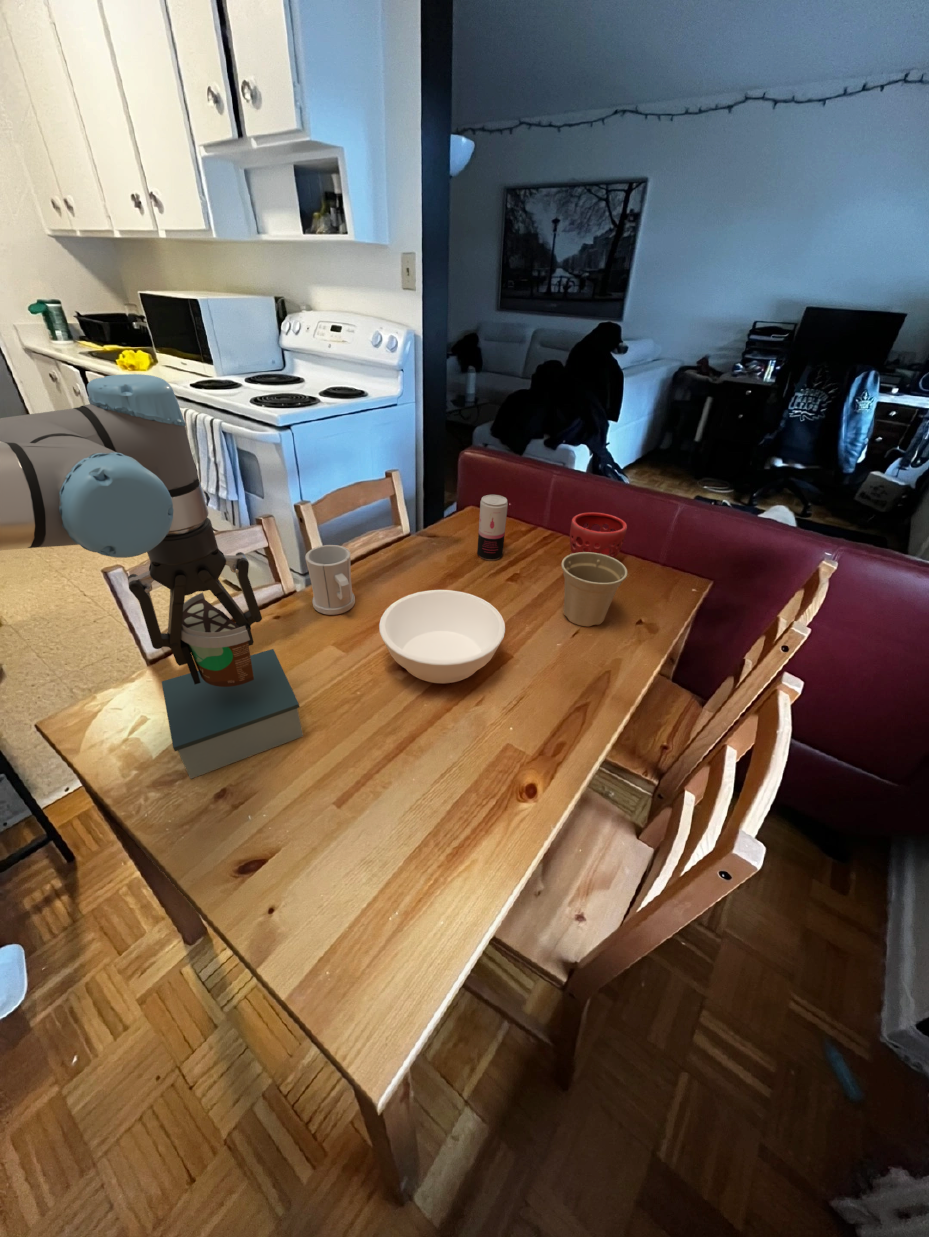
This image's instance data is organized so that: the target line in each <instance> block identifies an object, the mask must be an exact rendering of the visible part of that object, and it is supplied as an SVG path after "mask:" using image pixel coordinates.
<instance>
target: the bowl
mask: <svg viewBox="0 0 929 1237" xmlns="http://www.w3.org/2000/svg"><path fill="white" fill-rule="evenodd" d="M379 620H380V621H379V624H378V628H379V634H380V636H381V640H382V641H383V643H384V646H385V647H386V649H387V650H388V653H389V654H390V656H391V658H392V659H393V660H394V661H395V662H396V664H398V665H399V666H400V667H402V668H404V669H405V670H406V671H407V672H408V673H409V674H411V675H412V676H413V677H414V678H417V679H419V680H422V681H425V682H428V683H433V684H450V683H451V684H453V683H457V682H461V681H463V680H465V679H468V678H470V677H471V676H473V675H474V674H475V673H476V672H477V671H478V670H480V669H481V668H483V667H485V666H486V665H487V663H489V662H490V661H491V659H492V658H493V657H494V655H495V653H496V652H497V650H498V648H499V647H500V645H501V643H502V642H503V639H504V637H505V635H506V634H505V633H506V622H505V621H504V618H503V616H502V614H501V613H500V612H499V610H498V609H497V608H496V607H495V606H494V605H492V603H490V602H488V601H486V600H485V599H483V598H481V597H479V596H477V595H475V594H472V593H468V592H463V591H459V590H452V589H432V590H430V589H429V590H423V591H417V592H414V593H411V594H408V595H405V596H403V597H401V598H399V599H398V600H396V601H394V602H393V603H391V604H390V605H389V606H388V607H387V608H386V609H385V610H384V612H383V614H382V615H381V617H380V619H379Z"/></svg>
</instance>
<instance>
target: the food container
mask: <svg viewBox="0 0 929 1237" xmlns="http://www.w3.org/2000/svg"><path fill="white" fill-rule="evenodd" d="M181 640H183V641H184V642H186V643H187V644H188V647H189V649H190V651H191V654H192V657H193V660H194V663H195V665H196V668H197V671H199V673H200V675H201V678H202V679H203V680H204V681H205V682H206V683H208V684H210V685H214V686H219V687H231V686H237V685H241V684H245V683H247V682H250V681H252V680H254V676H253V669H252V663H251V657H250V655H251V652H250V646H249V645H248V641H249V640H250V638H249V635H248V632H247V630H246V627H245V626H242V627H239V626H237V625H236V624H235V621H233V620H232V619H230V617H229V616H228V615H227V614H226V613H225V612H224V611H222V610H220V609H219V608H217V607H215V606H214V605H212V603H210V602H209V601H208V600H206V598H205V594H204V591H201V592H200V593H198V594H196V595H193V596H191V597H190V598H189V599H187V600H185V601H184V604H183V617H182V629H181Z"/></svg>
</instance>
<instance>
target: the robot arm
mask: <svg viewBox="0 0 929 1237" xmlns="http://www.w3.org/2000/svg"><path fill="white" fill-rule="evenodd" d="M86 390H87V395H88V398H87V400H88V403H89V404H83V405H80V406H79V407H73V408H72V407H71V408H66V409H58V410H51V411H50V410H49V411H43V412H37V413H29V414H28V413H27V414H21V415H13V416H6V417H1V418H0V551H11V550H24V549H35V548H36V549H37V548H53V547H67V546H80V547H82V548H83V549H84V550H86V551H89V552H92V553H97V554H99V555H101V556H106V557H111V558H115V559H119V558H120V559H126V558H127V559H128V558H134V557H137V556H141V555H144V554H147V556H148V559H149V567H148V570H147V571H145V572H143V573H141V574H136V573H131V574H129V575H128V576H127V584H128V590H129V591H130V593H131V594H132V595H133V596H134V597H135V598H136V599H137V600H138V602H139V606H140V610H141V612H142V616H143V619H144V623H145V627H146V629H147V632H148V637H149V639H150V643H151V646H152V648H153V649H154V650H161V649H162V648H168V649H170V650H171V652H172V656H173V658H174V660H175V663H176V664H177V665H178V666H184V665H186V666H187V668H188V670H189V673H191V676H192V678H193V681H194V684H199V683H201V682H200V678H199V675H198V671H199V670H198V668H197V666H196V663H195V661H194V659H193V656H192V654H191V651H190V649H189V647H188V644H187V643H186V642H184V641H183V640H181V629H182V617H183V604H184V603H185V601H186V600H185V598H186V596H191V595H193V594H195V593H198V592H207V591H210V592H211V594H212V595H213V596H214V597H216V599H217V600H218V601H219V602H220V604H221V605H222V607H223V608H224V609H225V610H226V612H227V613H228V614H229V616H230V617H231V618H232V619H233V620H234V623H235V624H236V625H237V626H239V627H242V626H245V627H246V630H247V632H248V635H249V638H250V640H249V641H248V645H249V647H250V646H253V645H254V642H255V640H254V638H253V634H252V631H251V630H252V627H251V626H252V625H253V624H254V623H260V622H261V621H262V620H263V616H262V613H261V609H260V607H259V605H258V602H257V599H256V596H255V593H254V589H253V586H252V584H251V581H250V578H249V567H250V562H249V561H248V558H247V557H246V555H245V553H244V552H241V551H239V552H236V553H235V554H231V555H230V554H224V552H222V551H221V550H220V549H219V546H218V542H217V538H216V535H215V532H214V527H213V524H212V521H211V519H210V518H209V509H208V505H207V502H206V498H205V495H204V491H203V487H202V484H201V481H200V477H199V474H198V471H197V468H196V464H195V459H194V456H193V452H192V448H191V444H190V440H189V437H188V432H187V428H186V426H187V424H186V421H185V419H184V417H183V413H182V410H181V408H180V404H179V402H178V401H179V400H178V399H177V397H176V393H175V392H174V389H173V387H172V386H171V384H170V383H169V382H168V381H166V380H165V379H164V378H161V377H159V376H156V375H150V374H139V373H138V374H137V373H132V374H131V373H129V374H127V373H126V374H113V375H112V374H111V375H107V376H104V377H97V378H94V379H92V380H90V381H89V382H88V383H87V384H86ZM226 566H227V567H229V570H230V571H231V573H235V575H236V579H237V581H238V584H239V586H240V590H241V592H242V596H243V598H244V601H245V604H246V606H247V609H248V610H247V611H246V612H244V611H243V610H242V609H241V608H240V606H239V605H238V604H237V602H236V601H235V599H234V598H233V597H232V596H231V594H230V593H229V592H228V590H227V589H226V587H225V586H224V585H223V584H222V582H221V581H220V576H221V575H222V572H223V571H224V569H225V567H226ZM153 582H156V583H158V584H160V585H162V586H163V587H165V588H166V589H168V590H169V606H168V621H167V623H168V624H167V632H161V628H160V624H159V620H158V617H157V613H156V611H155V607H154V604H153V599H152V596H151V593H150V592H152V590H153Z"/></svg>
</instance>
